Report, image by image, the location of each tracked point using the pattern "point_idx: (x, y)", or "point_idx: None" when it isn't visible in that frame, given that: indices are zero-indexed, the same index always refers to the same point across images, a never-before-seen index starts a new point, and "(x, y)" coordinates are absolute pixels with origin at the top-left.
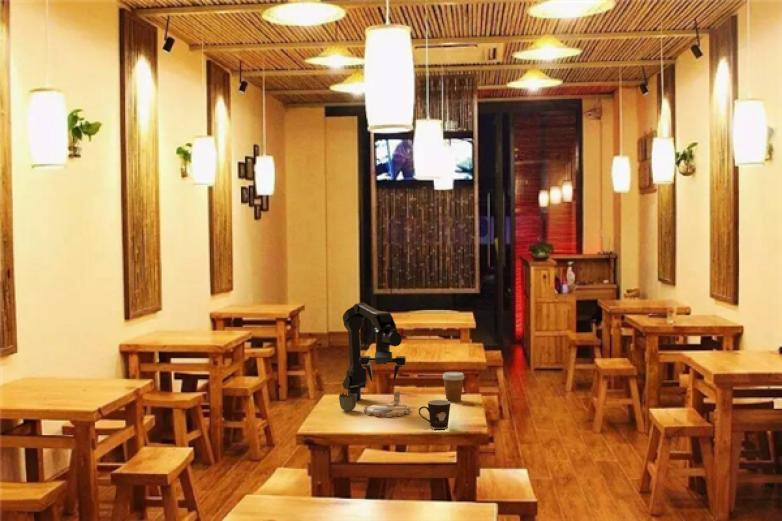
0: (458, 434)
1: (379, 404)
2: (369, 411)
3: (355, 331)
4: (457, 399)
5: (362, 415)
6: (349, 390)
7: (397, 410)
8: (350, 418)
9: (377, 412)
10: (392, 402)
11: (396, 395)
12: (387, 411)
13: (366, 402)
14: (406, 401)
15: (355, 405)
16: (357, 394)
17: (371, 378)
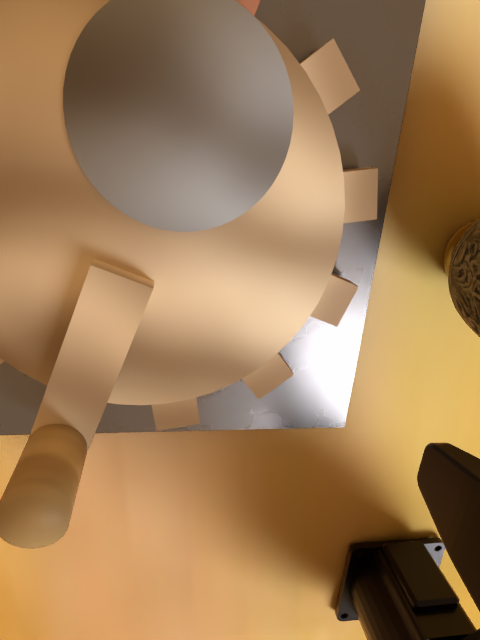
0: None
1: (225, 386)
2: (327, 88)
3: None
4: None
5: None
6: (472, 625)
7: (5, 112)
8: (477, 74)
9: (241, 8)
10: (95, 388)
11: (40, 464)
12: (121, 30)
13: (310, 575)
14: (31, 630)
15: (461, 254)
16: (397, 605)
17: (476, 469)
